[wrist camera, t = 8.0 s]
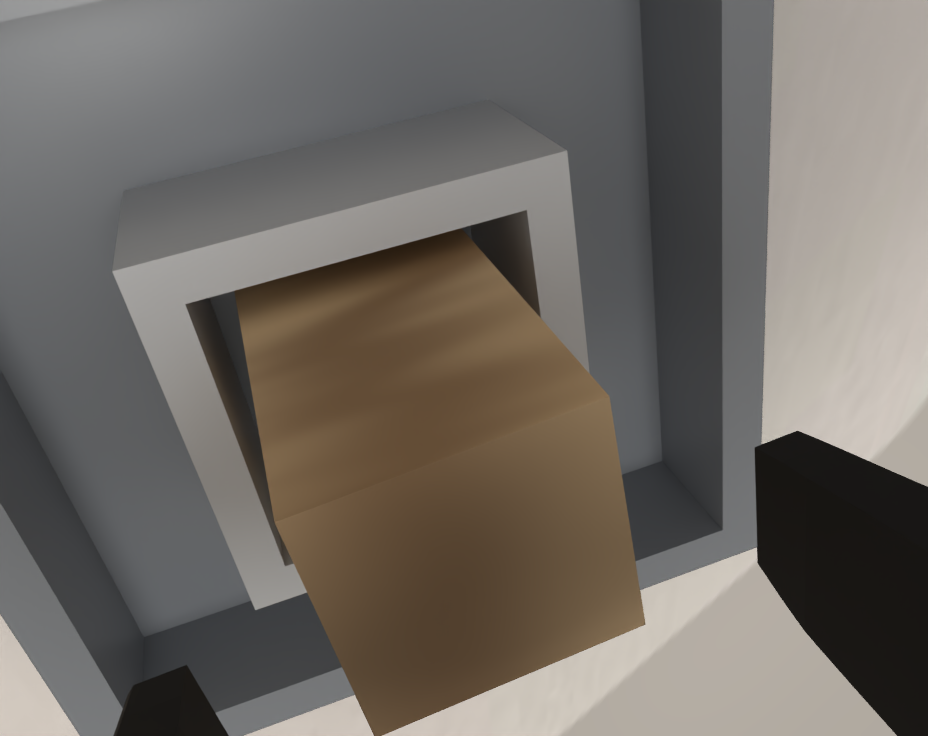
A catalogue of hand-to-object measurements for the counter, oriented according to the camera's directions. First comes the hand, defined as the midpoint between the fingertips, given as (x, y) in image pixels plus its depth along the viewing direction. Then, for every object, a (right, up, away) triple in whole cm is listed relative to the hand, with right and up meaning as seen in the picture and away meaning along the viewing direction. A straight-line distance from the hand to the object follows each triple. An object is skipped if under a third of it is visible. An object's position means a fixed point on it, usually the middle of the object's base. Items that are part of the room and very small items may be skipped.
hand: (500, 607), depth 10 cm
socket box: (-3, +5, +9) cm, 10 cm away
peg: (-3, +4, +8) cm, 9 cm away
